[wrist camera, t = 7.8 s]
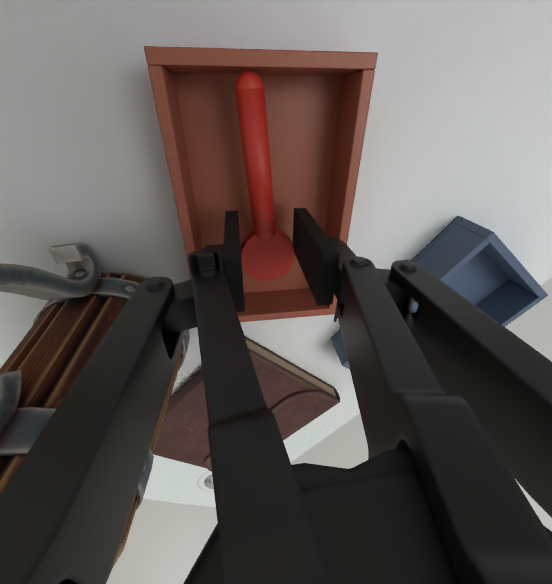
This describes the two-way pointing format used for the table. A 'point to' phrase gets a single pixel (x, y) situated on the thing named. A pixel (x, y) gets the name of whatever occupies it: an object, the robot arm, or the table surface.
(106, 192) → the table surface
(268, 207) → the red spoon
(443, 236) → the blue bin
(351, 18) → the table surface
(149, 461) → the mug
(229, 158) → the red bin
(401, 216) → the table surface
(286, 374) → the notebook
